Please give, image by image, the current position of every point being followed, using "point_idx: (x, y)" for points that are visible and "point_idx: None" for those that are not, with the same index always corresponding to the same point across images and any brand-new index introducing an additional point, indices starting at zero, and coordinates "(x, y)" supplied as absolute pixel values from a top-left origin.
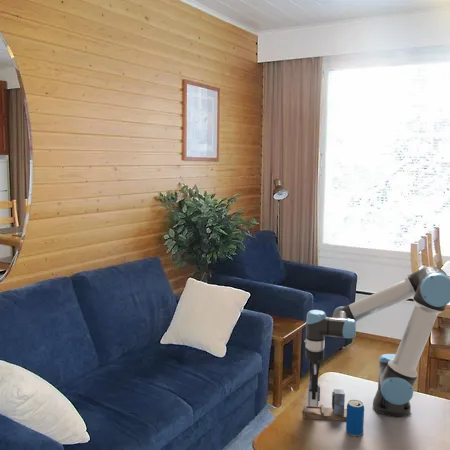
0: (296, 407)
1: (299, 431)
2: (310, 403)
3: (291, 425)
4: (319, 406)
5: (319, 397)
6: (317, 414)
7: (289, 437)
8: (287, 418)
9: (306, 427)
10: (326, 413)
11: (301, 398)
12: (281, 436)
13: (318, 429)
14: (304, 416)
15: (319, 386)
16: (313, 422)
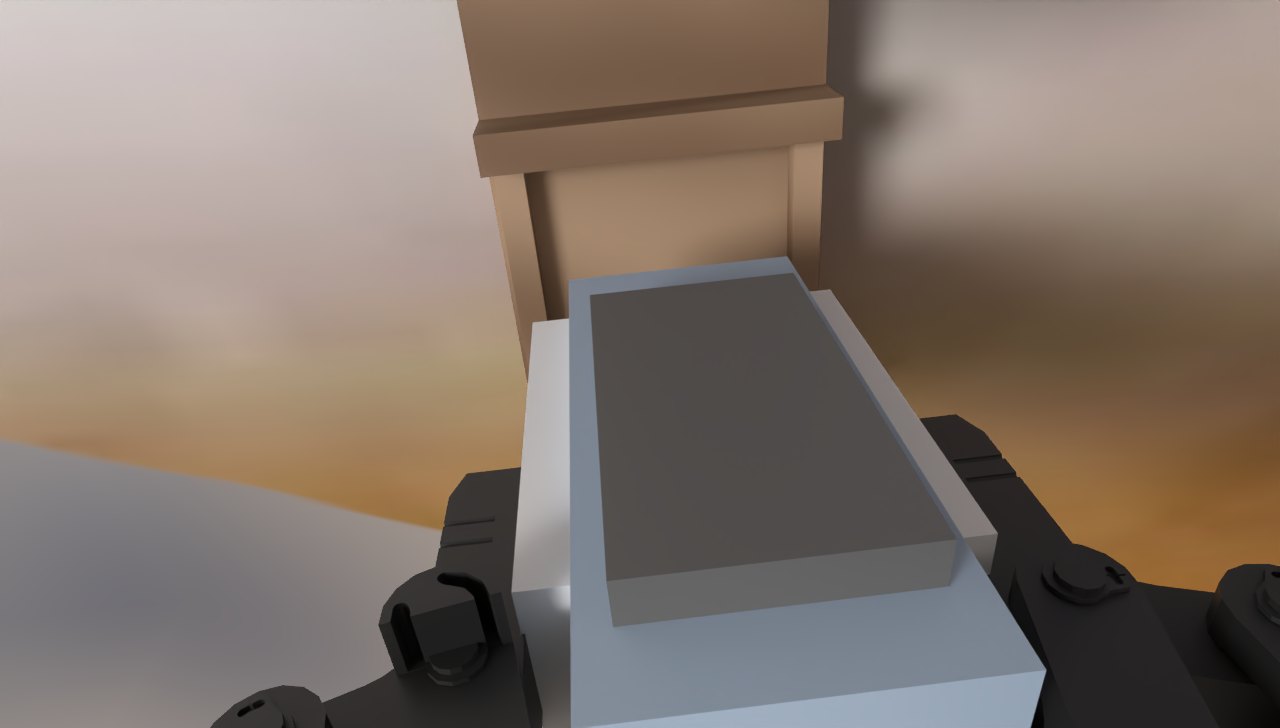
0: None
1: (1157, 397)
2: None
3: None
4: (503, 188)
5: (825, 329)
6: (819, 209)
7: (1273, 483)
8: None
9: (1064, 324)
10: (729, 28)
11: (162, 461)
12: (1233, 554)
13: (1140, 150)
14: None
15: (864, 567)
16: (921, 237)
